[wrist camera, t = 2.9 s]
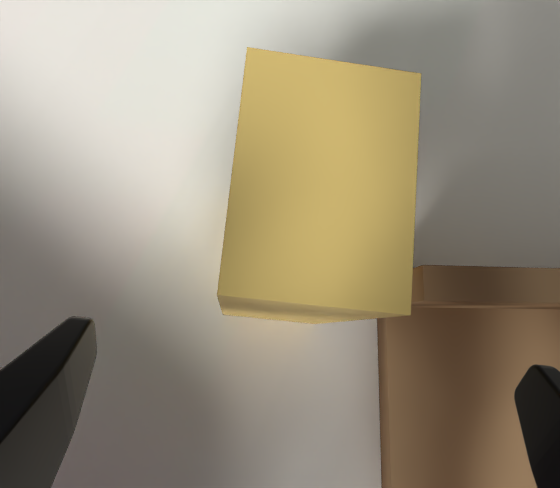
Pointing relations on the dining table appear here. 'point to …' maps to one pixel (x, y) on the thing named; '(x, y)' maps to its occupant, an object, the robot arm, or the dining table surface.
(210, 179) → the dining table surface
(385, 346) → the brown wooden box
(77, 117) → the dining table surface
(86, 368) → the robot arm
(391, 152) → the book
